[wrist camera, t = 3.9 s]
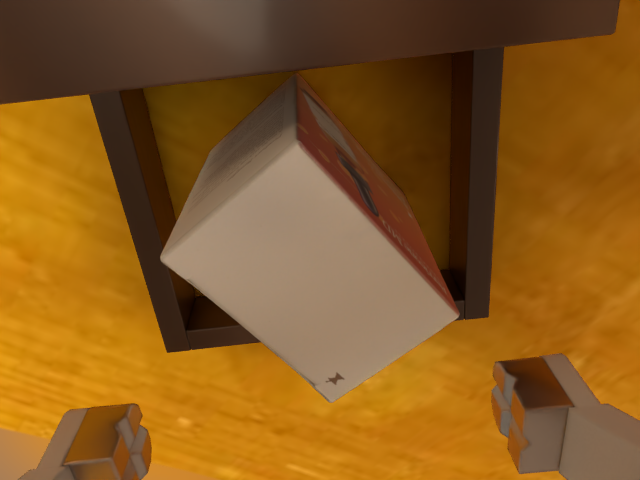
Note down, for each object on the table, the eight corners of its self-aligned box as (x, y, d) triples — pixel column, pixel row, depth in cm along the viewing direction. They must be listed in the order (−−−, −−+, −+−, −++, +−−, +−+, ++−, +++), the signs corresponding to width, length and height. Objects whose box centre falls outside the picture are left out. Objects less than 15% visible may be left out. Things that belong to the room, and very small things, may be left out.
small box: (405, 193, 26) (468, 321, 17) (319, 259, 28) (333, 411, 18) (296, 65, 23) (299, 135, 14) (206, 148, 25) (154, 262, 15)
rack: (497, -458, 16) (775, -1025, 7) (470, 284, 29) (556, 438, 19) (-20, -395, 16) (-435, -869, 7) (178, 317, 29) (123, 485, 20)
